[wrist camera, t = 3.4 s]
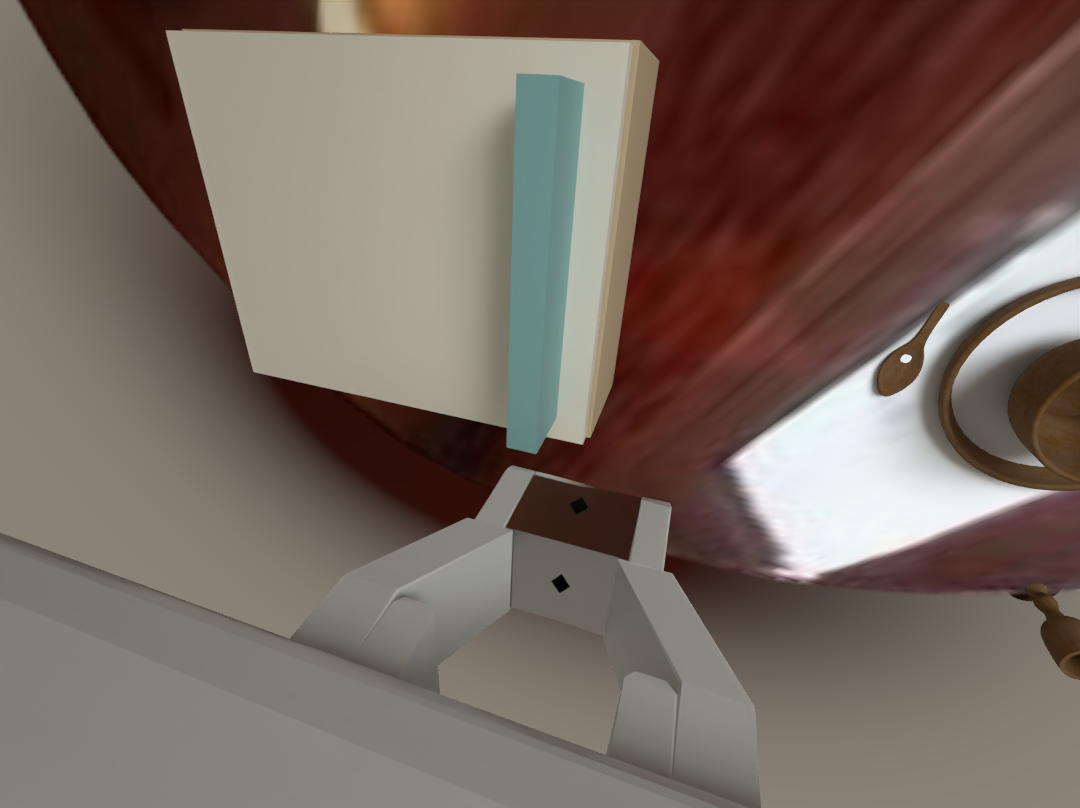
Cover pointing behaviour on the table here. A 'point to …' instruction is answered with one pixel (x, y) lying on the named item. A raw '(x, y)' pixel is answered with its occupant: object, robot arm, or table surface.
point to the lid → (416, 213)
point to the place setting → (1018, 435)
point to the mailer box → (624, 203)
